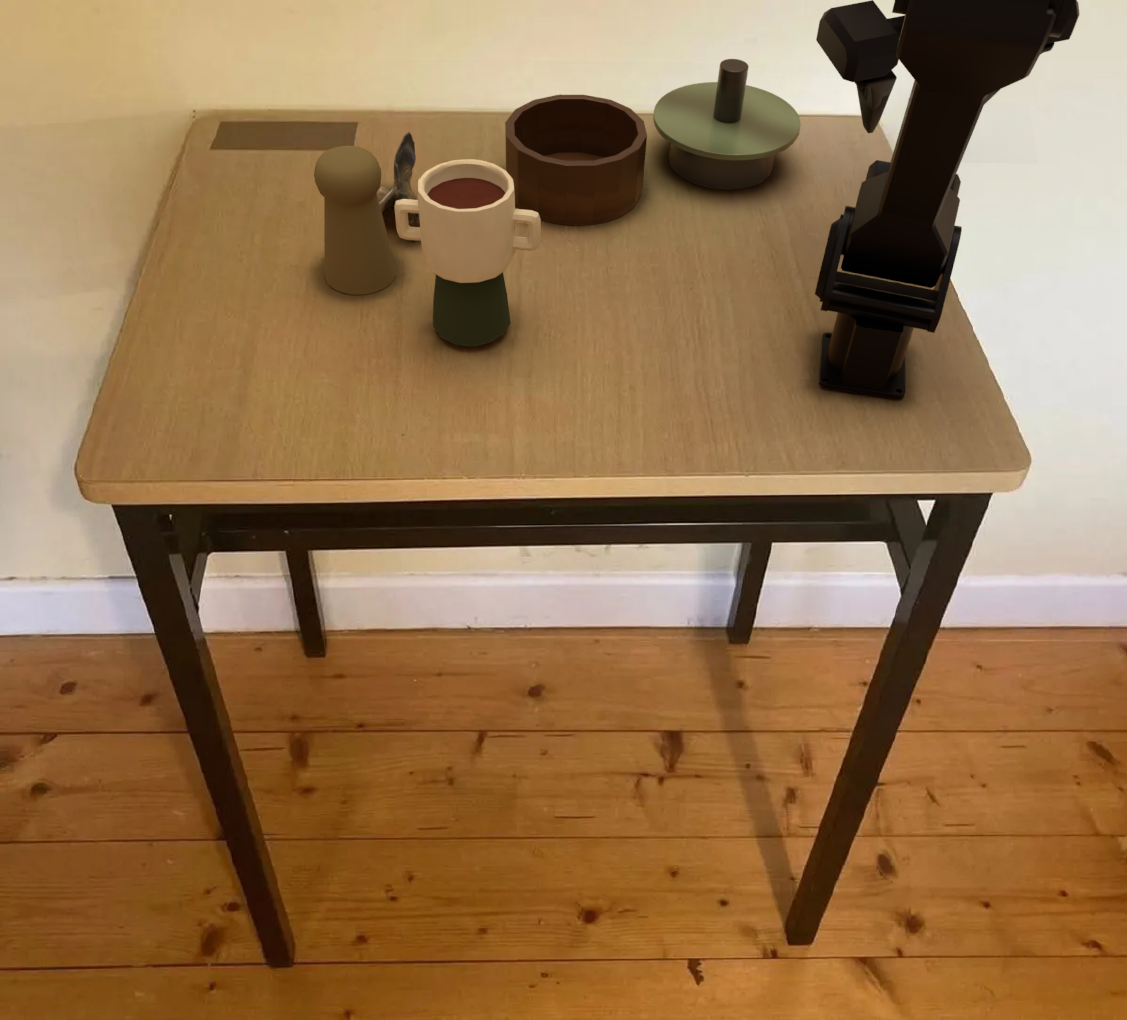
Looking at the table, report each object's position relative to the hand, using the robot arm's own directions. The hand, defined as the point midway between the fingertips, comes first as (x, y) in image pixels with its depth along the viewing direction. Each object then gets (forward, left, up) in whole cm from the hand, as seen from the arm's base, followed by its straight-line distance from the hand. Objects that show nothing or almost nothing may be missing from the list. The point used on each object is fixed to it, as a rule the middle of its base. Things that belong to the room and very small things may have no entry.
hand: (920, 119), depth 91 cm
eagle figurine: (-6, +43, -12) cm, 45 cm away
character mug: (-20, +33, -12) cm, 40 cm away
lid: (+10, +16, -8) cm, 21 cm away
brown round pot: (+2, +29, -12) cm, 31 cm away
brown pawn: (-15, +44, -12) cm, 48 cm away
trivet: (+10, +16, -12) cm, 22 cm away
